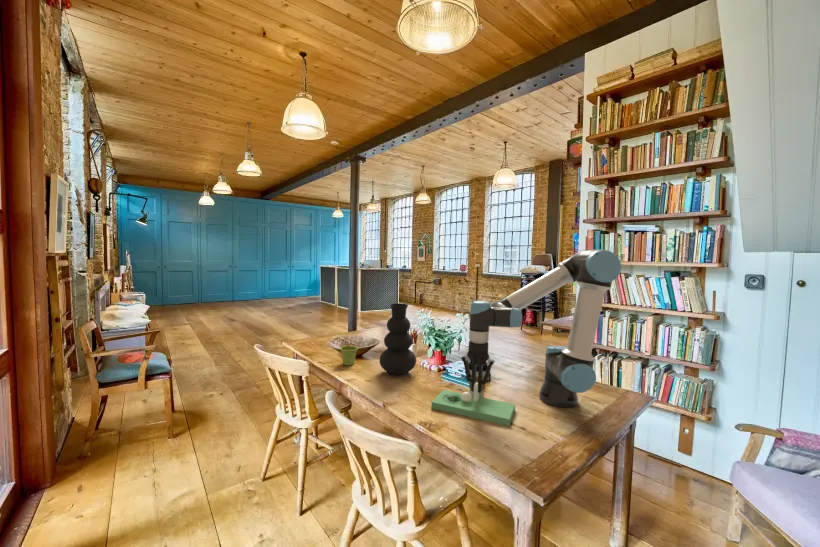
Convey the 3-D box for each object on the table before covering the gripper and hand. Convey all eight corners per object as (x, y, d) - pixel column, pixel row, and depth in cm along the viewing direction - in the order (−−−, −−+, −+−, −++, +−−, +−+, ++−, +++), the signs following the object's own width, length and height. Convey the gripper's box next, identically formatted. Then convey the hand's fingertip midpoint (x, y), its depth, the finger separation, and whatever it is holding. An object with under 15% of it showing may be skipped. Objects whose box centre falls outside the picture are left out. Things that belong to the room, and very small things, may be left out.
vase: (403, 383, 163) (405, 309, 161) (371, 375, 172) (373, 305, 170) (422, 371, 179) (423, 304, 177) (392, 365, 188) (393, 300, 186)
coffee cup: (486, 401, 145) (488, 366, 144) (466, 399, 147) (467, 364, 146) (486, 393, 153) (487, 360, 152) (467, 391, 155) (468, 358, 154)
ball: (466, 401, 141) (474, 397, 139) (464, 405, 137) (472, 401, 136) (461, 393, 141) (469, 388, 140) (458, 396, 138) (466, 391, 136)
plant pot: (351, 360, 195) (352, 344, 195) (360, 364, 188) (360, 348, 187) (336, 363, 189) (336, 347, 189) (345, 367, 182) (345, 351, 181)
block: (515, 410, 138) (515, 404, 138) (509, 426, 125) (509, 419, 125) (443, 395, 150) (443, 389, 150) (431, 408, 138) (431, 402, 138)
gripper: (497, 341, 136) (494, 399, 138) (465, 336, 142) (462, 393, 143) (493, 345, 129) (490, 407, 131) (459, 340, 135) (457, 399, 136)
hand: (476, 399), depth 137 cm, fingers closed
